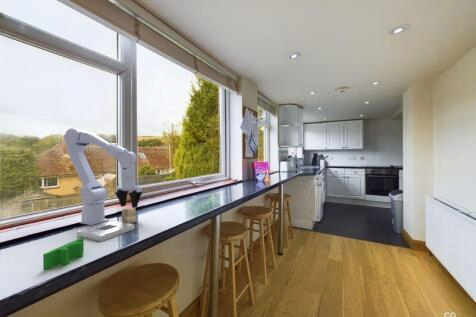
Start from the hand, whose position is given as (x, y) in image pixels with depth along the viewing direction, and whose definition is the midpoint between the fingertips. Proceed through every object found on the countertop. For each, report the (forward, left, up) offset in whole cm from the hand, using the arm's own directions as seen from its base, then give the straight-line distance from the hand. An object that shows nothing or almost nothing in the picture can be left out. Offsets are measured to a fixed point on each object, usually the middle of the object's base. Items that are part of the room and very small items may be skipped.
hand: (129, 206), depth 96 cm
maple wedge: (0, 0, -7) cm, 7 cm away
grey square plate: (+4, -13, -7) cm, 15 cm away
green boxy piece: (+16, -32, -7) cm, 37 cm away
